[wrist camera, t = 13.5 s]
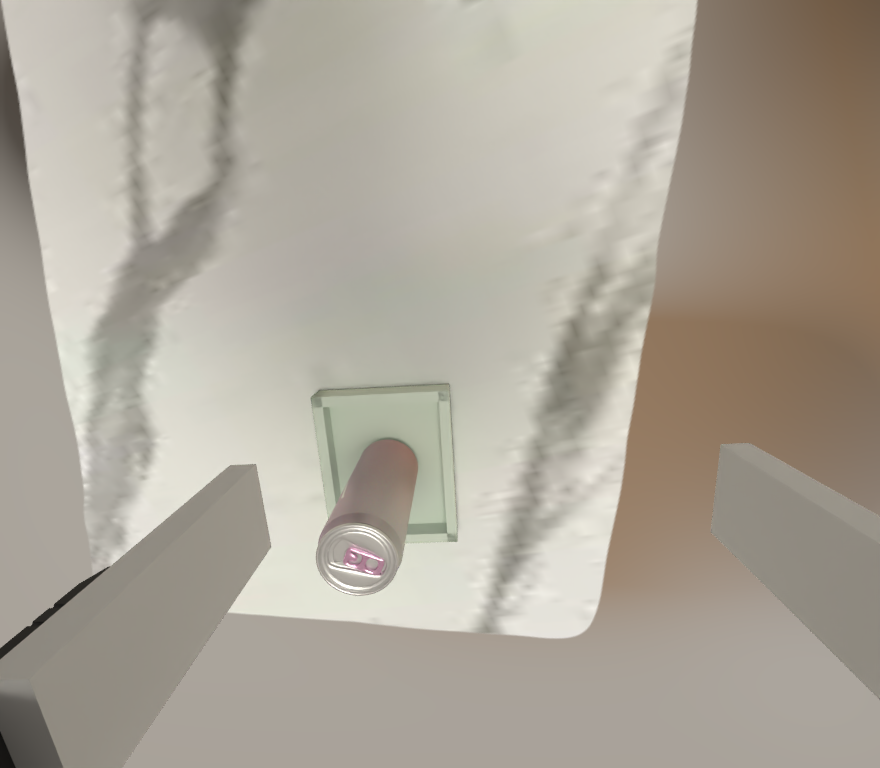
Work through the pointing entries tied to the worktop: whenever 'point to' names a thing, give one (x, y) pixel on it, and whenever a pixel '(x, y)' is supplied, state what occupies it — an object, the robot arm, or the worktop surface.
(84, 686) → the robot arm
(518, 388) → the worktop surface
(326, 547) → the beverage can
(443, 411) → the tray
